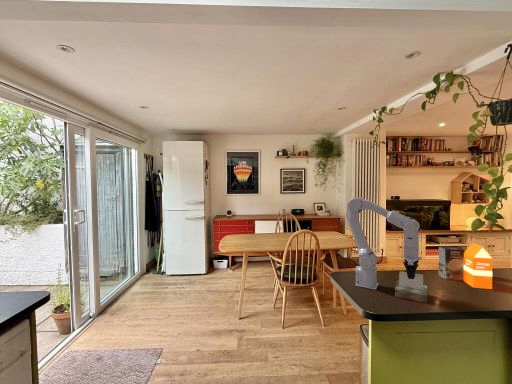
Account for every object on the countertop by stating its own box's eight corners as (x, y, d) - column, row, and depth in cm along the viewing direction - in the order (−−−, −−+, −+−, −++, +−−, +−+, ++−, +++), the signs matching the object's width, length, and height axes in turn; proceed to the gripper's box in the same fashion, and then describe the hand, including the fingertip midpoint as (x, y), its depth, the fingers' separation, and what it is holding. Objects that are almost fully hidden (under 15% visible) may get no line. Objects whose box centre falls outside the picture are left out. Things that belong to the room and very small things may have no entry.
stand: (394, 296, 111) (394, 287, 111) (396, 288, 120) (396, 280, 120) (427, 303, 105) (427, 293, 105) (427, 294, 113) (427, 285, 113)
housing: (399, 286, 113) (399, 272, 113) (399, 282, 117) (399, 269, 117) (423, 290, 108) (423, 276, 108) (423, 286, 112) (423, 273, 112)
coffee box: (445, 279, 131) (445, 249, 131) (438, 275, 137) (438, 246, 137) (464, 280, 130) (464, 249, 130) (455, 276, 136) (456, 246, 136)
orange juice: (473, 287, 121) (473, 246, 120) (463, 280, 129) (463, 242, 129) (492, 289, 119) (493, 247, 118) (481, 282, 127) (481, 243, 127)
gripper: (421, 251, 104) (421, 284, 104) (421, 244, 116) (421, 273, 116) (402, 249, 108) (402, 280, 108) (404, 242, 120) (404, 271, 120)
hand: (411, 276), depth 112 cm, fingers closed on housing, 5 cm apart
